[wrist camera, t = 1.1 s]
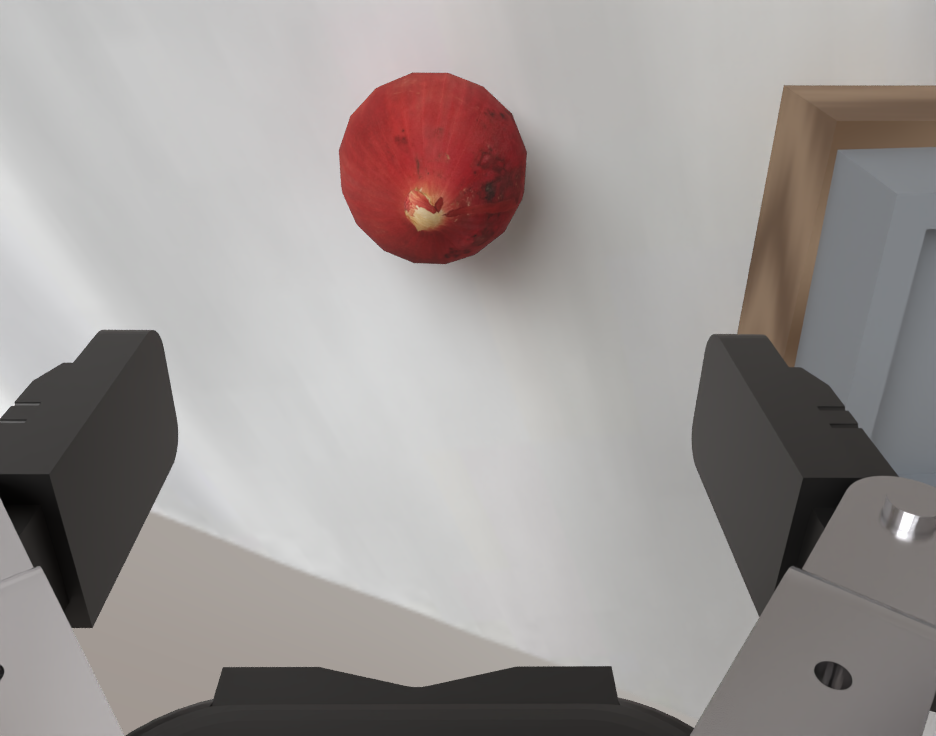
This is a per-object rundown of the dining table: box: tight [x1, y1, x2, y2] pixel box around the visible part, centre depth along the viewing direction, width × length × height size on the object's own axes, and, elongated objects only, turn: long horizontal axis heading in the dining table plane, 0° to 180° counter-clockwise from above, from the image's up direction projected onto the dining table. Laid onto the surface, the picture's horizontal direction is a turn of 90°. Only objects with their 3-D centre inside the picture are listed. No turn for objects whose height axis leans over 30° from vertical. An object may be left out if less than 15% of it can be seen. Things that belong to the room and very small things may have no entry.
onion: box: [339, 73, 527, 264], centre depth 26 cm, size 6×6×8 cm
